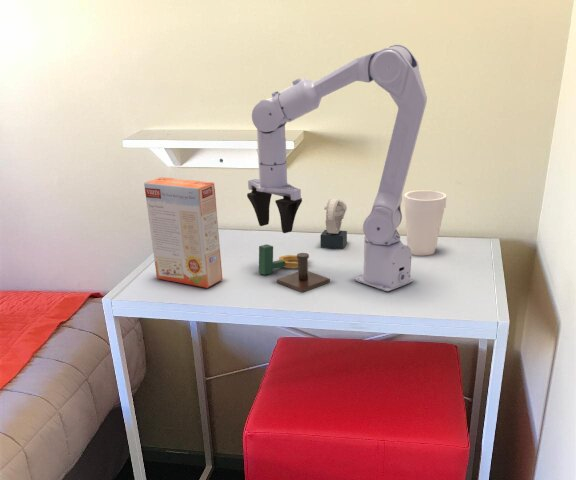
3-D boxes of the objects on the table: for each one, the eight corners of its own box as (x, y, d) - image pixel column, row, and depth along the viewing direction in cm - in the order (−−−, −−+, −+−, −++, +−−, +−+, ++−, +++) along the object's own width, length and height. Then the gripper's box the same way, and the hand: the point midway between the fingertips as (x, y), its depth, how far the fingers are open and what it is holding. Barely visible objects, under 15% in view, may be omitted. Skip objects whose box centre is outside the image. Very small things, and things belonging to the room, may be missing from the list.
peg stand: (330, 282, 140) (330, 254, 137) (302, 292, 135) (301, 264, 132) (304, 273, 145) (303, 246, 142) (276, 282, 141) (275, 254, 138)
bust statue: (348, 241, 164) (349, 196, 158) (341, 251, 157) (341, 204, 152) (326, 239, 165) (326, 195, 160) (318, 249, 159) (318, 203, 153)
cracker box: (224, 280, 143) (215, 181, 132) (207, 289, 138) (197, 188, 128) (173, 270, 149) (161, 175, 139) (155, 279, 145) (142, 181, 134)
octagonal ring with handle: (293, 261, 154) (294, 235, 152) (312, 267, 150) (314, 241, 148) (252, 270, 147) (252, 243, 144) (270, 277, 143) (271, 250, 140)
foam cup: (442, 258, 151) (447, 200, 144) (400, 257, 152) (404, 200, 146) (440, 245, 159) (445, 190, 152) (401, 244, 160) (404, 189, 154)
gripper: (235, 161, 137) (239, 225, 144) (281, 170, 128) (283, 239, 134) (261, 155, 141) (264, 219, 148) (307, 164, 132) (309, 231, 138)
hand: (275, 228), depth 141 cm, fingers open, 7 cm apart
